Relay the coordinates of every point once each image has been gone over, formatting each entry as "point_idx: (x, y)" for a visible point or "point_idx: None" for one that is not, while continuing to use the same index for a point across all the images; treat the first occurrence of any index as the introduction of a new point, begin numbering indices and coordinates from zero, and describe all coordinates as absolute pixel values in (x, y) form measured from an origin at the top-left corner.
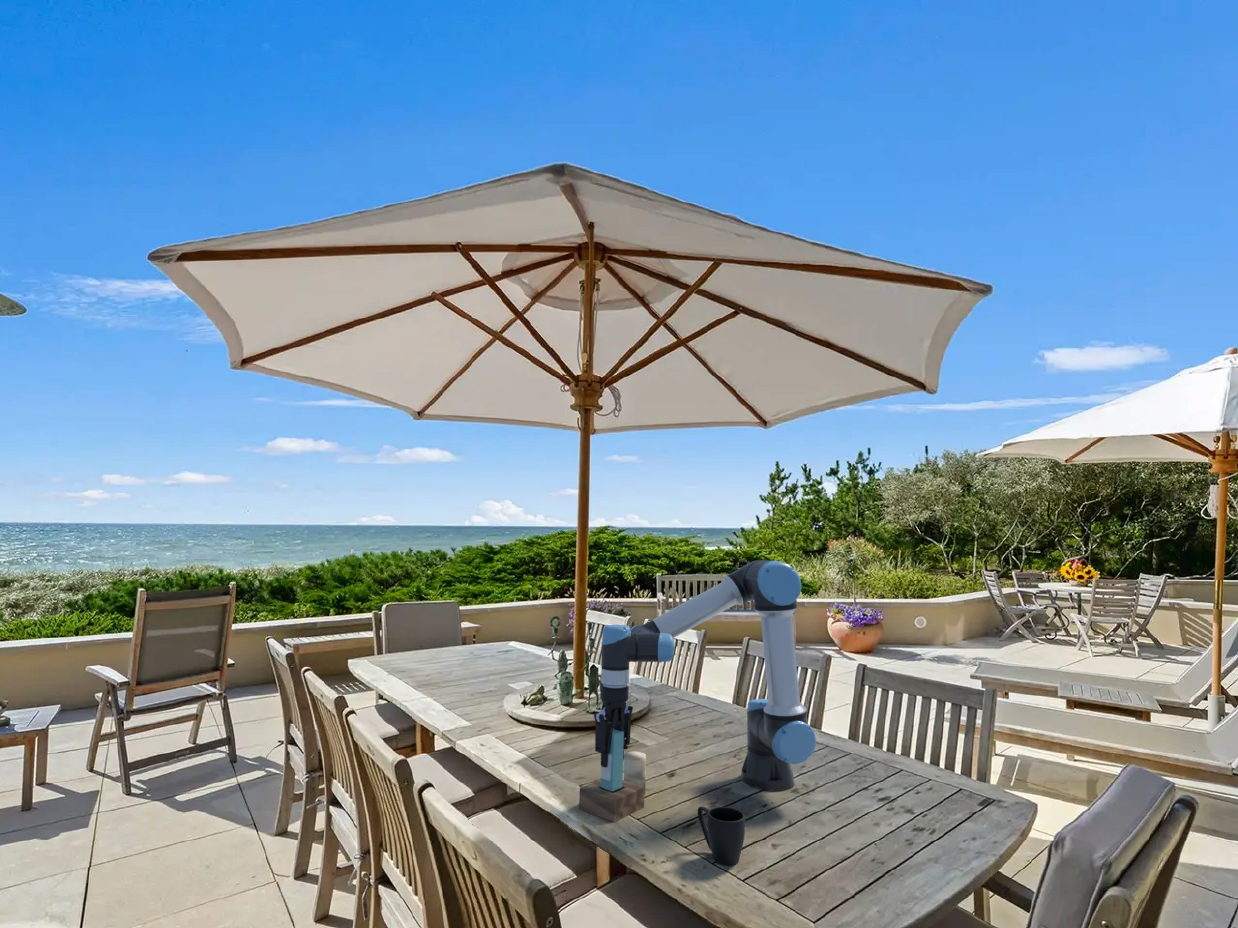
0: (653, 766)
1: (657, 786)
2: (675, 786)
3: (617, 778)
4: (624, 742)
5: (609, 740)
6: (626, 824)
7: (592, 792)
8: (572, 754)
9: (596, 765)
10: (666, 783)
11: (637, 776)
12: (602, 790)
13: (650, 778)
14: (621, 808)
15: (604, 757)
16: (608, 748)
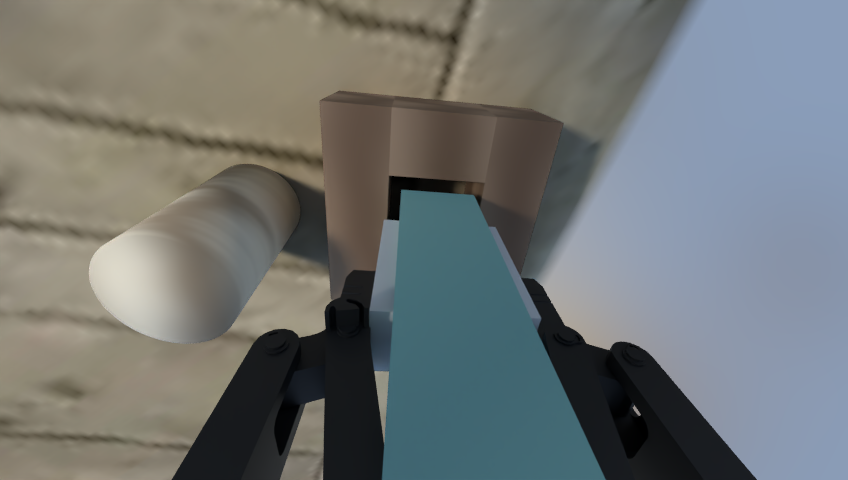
0: (6, 288)
1: (126, 169)
2: (40, 104)
3: (444, 212)
4: (339, 356)
5: (598, 427)
6: (527, 51)
7: (526, 250)
8: None
9: (201, 399)
10: (62, 157)
11: (245, 206)
12: None
13: (98, 235)
14: (498, 110)
15: (559, 324)
16: (576, 360)
